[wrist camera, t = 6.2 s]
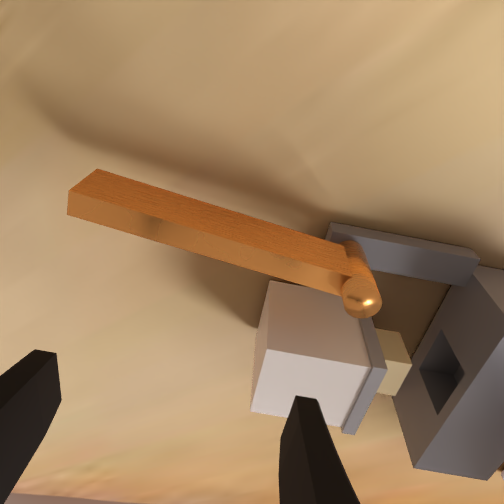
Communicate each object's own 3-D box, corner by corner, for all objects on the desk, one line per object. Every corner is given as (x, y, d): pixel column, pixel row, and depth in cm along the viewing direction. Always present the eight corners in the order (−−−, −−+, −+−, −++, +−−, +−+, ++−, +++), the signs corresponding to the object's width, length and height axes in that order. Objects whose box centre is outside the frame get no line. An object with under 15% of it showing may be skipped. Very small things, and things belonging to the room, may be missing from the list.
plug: (401, 301, 20) (435, 378, 16) (373, 360, 23) (396, 442, 18) (270, 277, 20) (267, 347, 16) (255, 339, 22) (248, 416, 18)
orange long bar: (368, 245, 18) (388, 294, 14) (355, 269, 18) (371, 322, 15) (101, 161, 16) (57, 194, 13) (98, 190, 17) (55, 229, 14)
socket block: (550, 263, 19) (622, 326, 15) (453, 406, 24) (487, 480, 20) (330, 221, 18) (343, 274, 15) (281, 376, 24) (282, 445, 20)
